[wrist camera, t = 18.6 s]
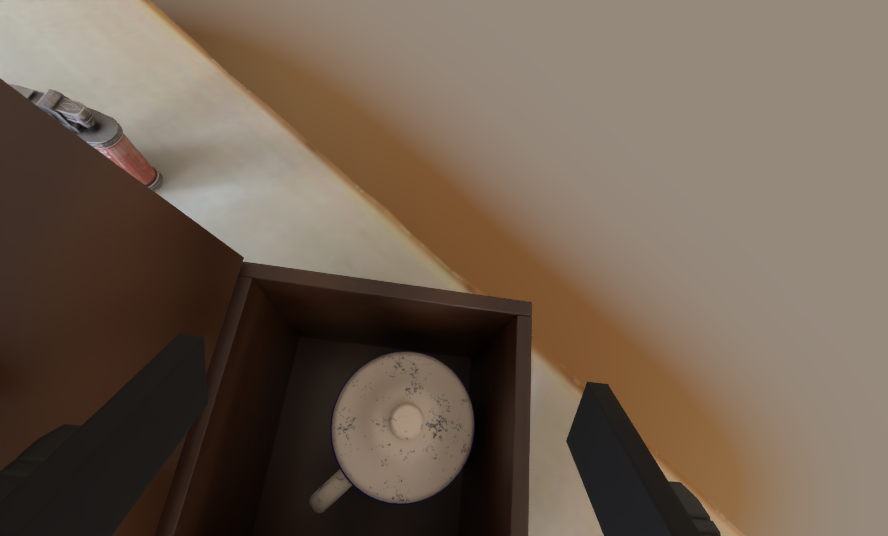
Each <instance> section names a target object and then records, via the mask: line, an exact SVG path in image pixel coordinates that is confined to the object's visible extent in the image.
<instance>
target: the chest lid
mask: <svg viewBox="0 0 888 536" xmlns="http://www.w3.org/2000/svg"><path fill="white" fill-rule="evenodd" d="M243 259H244V258H243V257H242V256H241V255H239V254H238V253H237V252H235V251H234V250H233V249H231V248H230V247H229V246H227V245H226V244H224V243H223V242H222V241H220V240H219V239H218V238H216V237H215V236H214V235H212V234H211V233H210V232H208V231H207V230H205V229H204V228H203V227H201V226H200V225H199V224H197V223H196V222H195V221H193V220H192V219H191V218H189V217H188V216H186V215H185V214H184V213H182V212H181V211H180V210H178V209H177V208H176V207H174V206H173V205H171V204H170V203H169V202H167V201H166V200H165V199H163V198H162V197H161V196H159V195H158V194H157V193H155V192H154V191H152V190H151V189H150V188H148V187H147V186H146V185H144V184H143V183H142V182H140V181H139V180H137V179H136V178H135V177H133V176H132V175H131V174H129V173H128V172H127V171H125V170H124V169H123V168H121V167H120V166H118V165H117V164H116V163H114V162H113V161H112V160H110V159H109V158H108V157H106V156H105V155H104V154H102V153H101V152H99V151H98V150H97V149H95V148H94V147H93V146H91V145H90V144H89V143H87V142H86V141H84V140H83V139H82V138H80V137H79V136H78V135H76V134H75V133H74V132H72V131H71V130H70V129H68V128H67V127H65V126H64V125H63V124H61V123H60V122H59V121H57V120H56V119H55V118H53V117H52V116H51V115H49V114H48V113H46V112H45V111H44V110H42V109H41V108H40V107H38V106H37V105H36V104H34V103H33V102H31V101H30V100H29V99H27V98H26V97H25V96H23V95H22V94H21V93H19V92H18V91H17V90H15V89H14V88H12V87H11V86H10V85H8V84H7V83H6V82H4V81H3V80H2V79H0V471H1V470H3V469H4V468H5V467H6V466H7V465H8V464H10V463H11V462H12V461H13V460H16V459H17V457H18V456H19V455H20V454H21V453H22V452H23V451H24V450H26V449H27V448H28V447H29V446H30V445H31V444H33V443H34V442H35V441H36V440H37V439H38V438H40V437H42V436H44V435H46V434H47V433H49V432H51V431H53V430H55V429H57V428H58V427H60V426H62V425H64V424H69V425H79V426H82V425H83V424H84V423H85V422H86V421H87V420H88V419H89V418H90V417H91V416H92V415H94V414H95V413H96V412H97V411H98V410H99V409H100V408H101V407H102V406H103V405H104V404H105V403H106V402H107V401H108V400H109V399H111V398H112V397H113V396H114V395H115V394H116V393H117V392H118V391H119V390H120V389H121V388H122V387H123V386H124V385H125V384H126V383H128V382H129V381H130V380H131V379H132V378H133V377H134V376H135V375H136V374H137V373H138V372H139V371H140V370H141V369H142V368H143V367H145V366H146V365H147V364H148V363H149V362H150V361H151V360H152V359H153V358H154V357H155V356H156V355H157V354H158V353H159V352H161V351H162V350H163V349H164V348H165V347H166V346H167V345H168V344H169V343H170V342H171V341H172V340H173V339H174V338H175V337H176V336H178V335H179V334H186V335H194V336H203V337H204V347H205V364H206V374H207V370H208V367H209V364H210V361H211V358H212V355H213V352H214V349H215V346H216V342H217V339H218V336H219V333H220V330H221V327H222V324H223V321H224V318H225V315H226V311H227V308H228V305H229V302H230V299H231V296H232V293H233V290H234V287H235V283H236V280H237V277H238V274H239V271H240V268H241V265H242V262H243ZM186 436H187V433H186V435H185V436H184V437H183V439H182V440H181V441H180V443H179V444H178V446H177V447H176V448H175V450H174V451H173V452H172V454H171V455H170V457H169V458H168V459H167V461H166V462H165V463H164V465H163V466H162V468H161V469H160V470H159V472H158V473H157V474H156V476H155V477H154V479H153V480H152V481H151V483H150V484H149V485H148V487H147V488H146V490H145V491H144V492H143V494H142V495H141V497H140V498H139V499H138V501H137V502H136V503H135V505H134V506H133V508H132V509H131V510H130V512H129V513H128V514H127V516H126V517H125V519H124V520H123V521H122V523H121V524H120V525H119V527H118V528H117V530H116V531H115V532H114V534H113V535H112V536H154V535H155V532H156V529H157V526H158V523H159V519H160V516H161V513H162V510H163V507H164V504H165V501H166V498H167V495H168V491H169V488H170V485H171V482H172V479H173V476H174V473H175V470H176V467H177V464H178V460H179V457H180V454H181V451H182V448H183V445H184V442H185V439H186Z"/></svg>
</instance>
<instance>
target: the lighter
mask: <svg viewBox="0 0 888 536" xmlns="http://www.w3.org/2000/svg"><path fill="white" fill-rule="evenodd" d="M8 85H10V86H11V87H12V88H14V89H15V90H17V91H18V92H19V93H21V94H22V95H23V96H25V97H26V98H27V99H29V100H30V101H31V102H33V103H34V104H36V105H37V106H38V107H40V108H41V109H42V110H44V111H45V112H46V113H48V114H49V115H51V116H52V117H53V118H55V119H56V120H57V121H59V122H60V123H61V124H63V125H64V126H65V127H67V128H68V129H70V130H71V131H72V132H74V133H75V134H76V135H78V136H79V137H80V138H82V139H83V140H84V141H86V142H87V143H89V144H90V145H91V146H93V147H94V148H95V149H97V150H98V151H99V152H101V153H102V154H104V155H105V156H106V157H108V158H109V159H110V160H112V161H113V162H114V163H116V164H117V165H118V166H120V167H121V168H123V169H124V170H125V171H127V172H128V173H129V174H131V175H132V176H133V177H135V178H136V179H137V180H139V181H140V182H142V183H143V184H144V185H146V186H147V187H148V188H150V189H151V190H152V191H156V190H157V189H158V188H159V187H160V186H161V184H162V182H163V177H162V175H161V174H160V173H159V171H158V170H157V169H156V168H154V167H153V166H151V165H150V164H149V163H148V162H147V161H146V159H145V158H144V157H143V156H142V155H141V154H140V152H139V151H138V150H137V149H136V148H135V146H134V145H133V144H132V143H131V142H130V141H129V139H128V138H127V137H126V136H125V135H124V134H123V130H122V127H121V126H120V125H119V124H118V123H117V121H116V120H114V119H113V118H111V117H109V116H107V115H105V114H102V113H100V112H98V111H96V110H93V109H90V108H87V107H86V106H85V105H84V104H83V103H80V102H76V101H73V100H70V99H69V98H67V97H65V96H64V95H63V94H61V93H59V92H57V91H55V90H51V89H48V90H47V91H46V93H43V92H39V91H35V90H32V89H28V88H24V87H21V86H17V85H13V84H8Z"/></svg>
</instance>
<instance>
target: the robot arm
mask: <svg viewBox="0 0 888 536" xmlns="http://www.w3.org/2000/svg"><path fill="white" fill-rule="evenodd" d="M207 404H208V396H207V380H206V364H205V347H204V337H203V336H194V335H186V334H179V335H178V336H176V337H175V338H174V339H173V340H172V341H171V342H170V343H169V344H168V345H167V346H166V347H165V348H164V349H163V350H162V351H161V352H159V353H158V354H157V355H156V356H155V357H154V358H153V359H152V360H151V361H150V362H149V363H148V364H147V365H146V366H145V367H143V368H142V369H141V370H140V371H139V372H138V373H137V374H136V375H135V376H134V377H133V378H132V379H131V380H130V381H129V382H128V383H126V384H125V385H124V386H123V387H122V388H121V389H120V390H119V391H118V392H117V393H116V394H115V395H114V396H113V397H112V398H111V399H109V400H108V401H107V402H106V403H105V404H104V405H103V406H102V407H101V408H100V409H99V410H98V411H97V412H96V413H95V414H94V415H92V416H91V417H90V418H89V419H88V420H87V421H86V422H85V423H84V424H83V425H82V426H79V425H69V424H64V425H62V426H60V427H58V428H57V429H55V430H53V431H51V432H49V433H47V434H46V435H44V436H42V437H40V438H38V439H37V440H36V441H35V442H34V443H33V444H31V445H30V446H29V447H28V448H27V449H26V450H24V451H23V452H22V453H21V454H20V455H19V456H18V457H17V459H16V460H13V461H12V462H11V463H10V464H8V465H7V466H6V467H5V468H4V469H3V470H1V471H0V536H112V535H113V534H114V532H115V531H116V530H117V528H118V527H119V525H120V524H121V523H122V521H123V520H124V519H125V517H126V516H127V514H128V513H129V512H130V510H131V509H132V508H133V506H134V505H135V503H136V502H137V501H138V499H139V498H140V497H141V495H142V494H143V492H144V491H145V490H146V488H147V487H148V485H149V484H150V483H151V481H152V480H153V479H154V477H155V476H156V474H157V473H158V472H159V470H160V469H161V468H162V466H163V465H164V463H165V462H166V461H167V459H168V458H169V457H170V455H171V454H172V452H173V451H174V450H175V448H176V447H177V446H178V444H179V443H180V441H181V440H182V439H183V437H184V436H185V435H186V433H187V432H188V430H189V429H190V428H191V426H192V425H193V424H194V422H195V421H196V419H197V418H198V417H199V415H200V414H201V413H202V411H203V410H204V408H205V407H206V406H207ZM566 441H567V444H568V446H569V449H570V451H571V454H572V456H573V459H574V461H575V464H576V466H577V469H578V471H579V474H580V477H581V479H582V482H583V484H584V487H585V489H586V492H587V494H588V497H589V499H590V502H591V504H592V507H593V509H594V512H595V514H596V517H597V519H598V522H599V524H600V527H601V529H602V532H603V534H604V536H721V535H720V531H719V530H718V528H717V527H716V525H715V524H714V522H713V521H711V520H710V516H709V515H708V513H707V512H706V510H705V509H704V507H703V506H702V504H701V503H700V501H699V500H698V499H697V498H696V497H695V496H694V495H693V494H692V493H691V492H690V491H689V490H688V489H687V488H686V487H685V486H684V485H683V484H682V483H680V482H669V481H668V480H667V479H666V477H665V475H664V474H663V472H662V471H661V469H660V467H659V466H658V464H657V463H656V461H655V459H654V458H653V456H652V455H651V453H650V451H649V450H648V448H647V447H646V445H645V443H644V442H643V440H642V439H641V437H640V435H639V434H638V432H637V430H636V429H635V427H634V426H633V424H632V422H631V421H630V419H629V418H628V416H627V414H626V413H625V411H624V410H623V408H622V407H621V405H620V403H619V402H618V400H617V399H616V397H615V395H614V394H613V392H612V390H611V389H610V387H609V385H608V384H601V383H593V382H587V384H586V387H585V390H584V392H583V395H582V398H581V401H580V404H579V407H578V409H577V412H576V415H575V418H574V421H573V423H572V426H571V429H570V432H569V435H568V437H567V440H566Z"/></svg>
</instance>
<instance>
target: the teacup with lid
mask: <svg viewBox="0 0 888 536" xmlns="http://www.w3.org/2000/svg"><path fill="white" fill-rule="evenodd" d="M474 435H475V416H474V409H473V405H472V402H471V398H470V396H469V393H468V391H467V389H466V387H465V385H464V384H463V382H462V381H461V379H460V378H459V377H458V376H457V374H456V373H455V372H454V371H453V370H452V369H451V368H450V367H448V366H447V365H446V364H444V363H443V362H442V361H440V360H438V359H436V358H434V357H432V356H430V355H427V354H424V353H420V352H415V351H395V352H390V353H386V354H383V355H380V356H377V357H375V358H373V359H371V360H370V361H368V362H366V363H365V364H363V365H362V366H361V367H359V368H358V369H357V370H356V371H355V372H354V373H353V374H352V375H351V376H350V377H349V379H348V380H347V381H346V383H345V384H344V386H343V387H342V389H341V391H340V393H339V395H338V397H337V399H336V402H335V404H334V408H333V411H332V416H331V424H330V437H331V445H332V450H333V453H334V457H335V459H336V462H337V464H338V466H339V468H340V469H339V470H338V471H337V472H336V473H335V474H334V475H333V476H332V477H331V478H330V479H329V480H327V481H326V482H325V483H324V484H323V485H322V486H321V487H320V488H319V489H318V490H317V491H316V492H315V493H314V494H313V495H312V496H311V497H310V500H309V504H310V506H311V507H312V509H313V510H314V511H315V512H316V513H322V512H324V511H325V510H326V509H327V508H329V507H330V506H331V505H332V504H333V503H334V502H335V501H336V500H337V499H338V498H339V497H340V496H341V495H343V494H344V493H345V492H346V491H347V490H348V489H349V488H350V487H351V486H352V485H353V486H354V487H355V488H356V489H357V490H358V491H360V492H361V493H362V494H364V495H366V496H367V497H369V498H371V499H373V500H376V501H379V502H382V503H386V504H391V505H409V504H415V503H419V502H422V501H425V500H428V499H430V498H432V497H434V496H436V495H437V494H439V493H440V492H442V491H443V490H444V489H446V488H447V487H448V486H449V485H450V484H451V483H452V482H453V481H454V480H455V479H456V478H457V476H458V475H459V474H460V472H461V471H462V469H463V468H464V466H465V464H466V462H467V460H468V458H469V455H470V452H471V450H472V446H473V442H474Z"/></svg>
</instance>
